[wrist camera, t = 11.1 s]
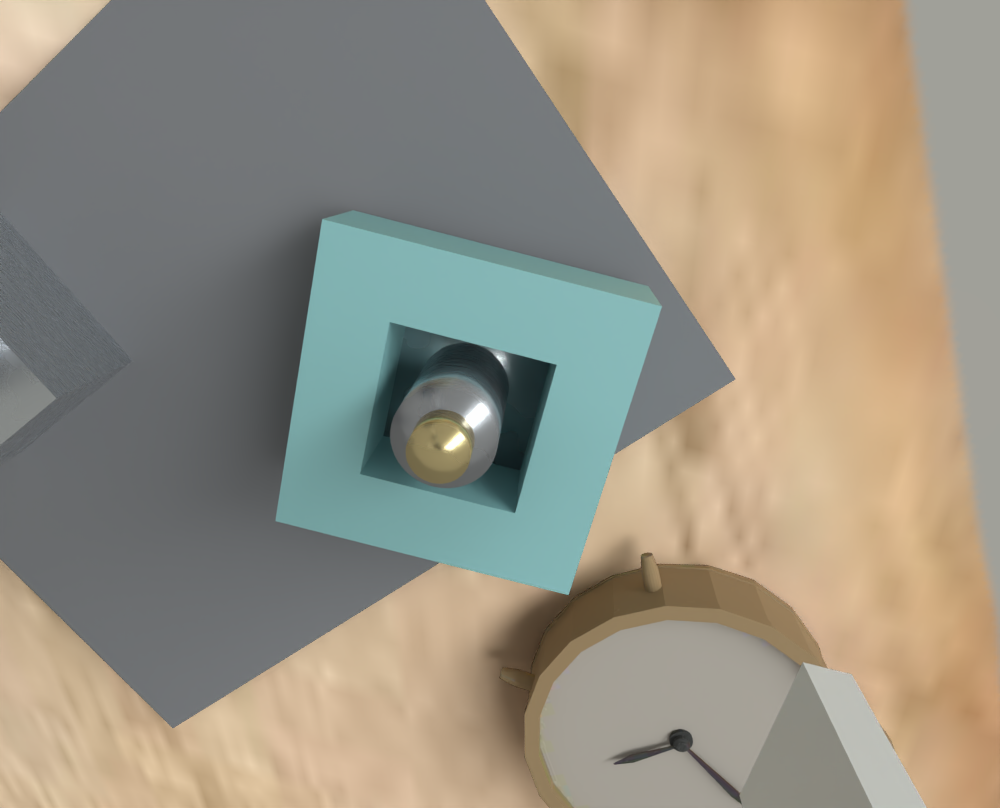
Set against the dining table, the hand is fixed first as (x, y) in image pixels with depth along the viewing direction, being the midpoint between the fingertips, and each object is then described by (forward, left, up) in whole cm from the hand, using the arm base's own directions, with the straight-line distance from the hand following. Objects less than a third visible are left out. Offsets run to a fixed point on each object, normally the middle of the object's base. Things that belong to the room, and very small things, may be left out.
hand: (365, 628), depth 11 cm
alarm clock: (+17, -1, -15) cm, 22 cm away
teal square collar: (0, 0, -13) cm, 13 cm away
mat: (-5, -6, -14) cm, 16 cm away
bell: (0, 0, -14) cm, 14 cm away
